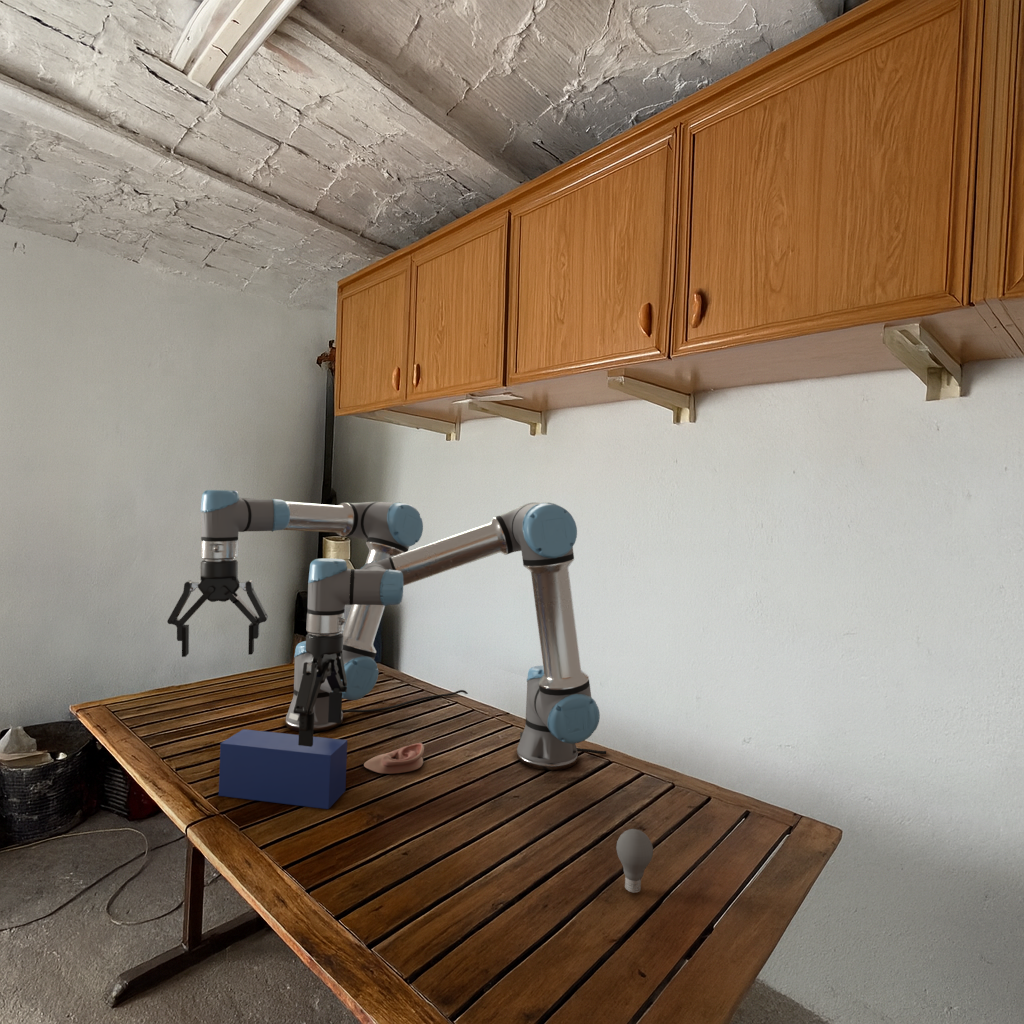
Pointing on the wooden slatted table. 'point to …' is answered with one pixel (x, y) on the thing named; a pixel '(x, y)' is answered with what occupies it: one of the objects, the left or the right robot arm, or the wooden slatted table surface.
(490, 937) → the wooden slatted table surface
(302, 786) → the box
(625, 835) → the light bulb
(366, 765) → the anatomical model
